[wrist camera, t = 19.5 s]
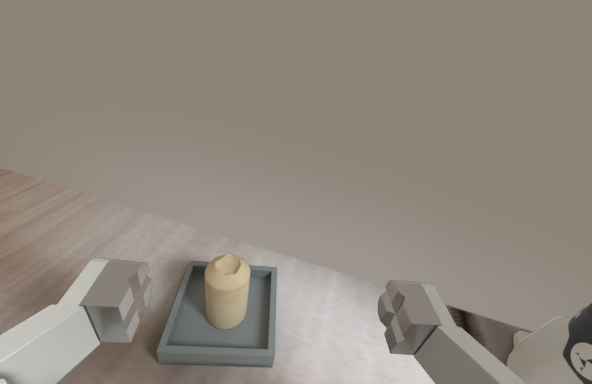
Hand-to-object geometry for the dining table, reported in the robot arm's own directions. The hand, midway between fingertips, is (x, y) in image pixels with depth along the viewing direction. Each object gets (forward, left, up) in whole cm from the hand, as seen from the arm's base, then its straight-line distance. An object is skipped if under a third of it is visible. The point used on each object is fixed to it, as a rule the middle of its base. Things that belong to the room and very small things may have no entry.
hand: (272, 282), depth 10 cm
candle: (+4, -17, -29) cm, 34 cm away
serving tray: (+4, -17, -30) cm, 35 cm away
